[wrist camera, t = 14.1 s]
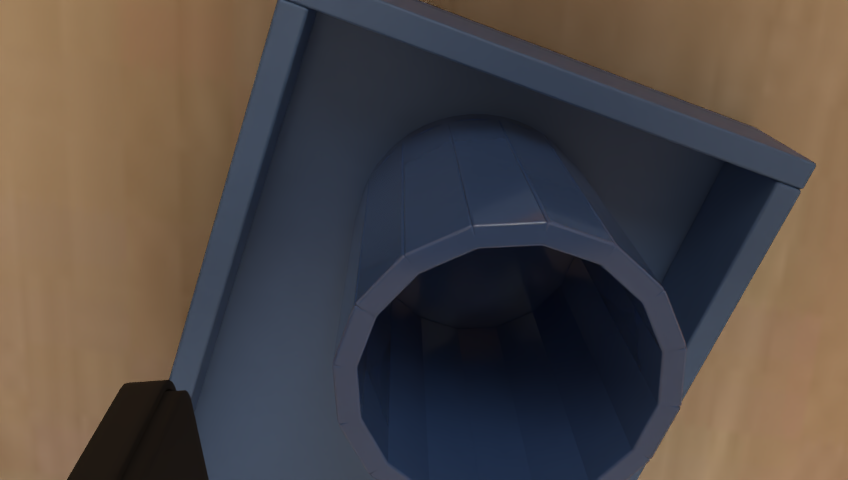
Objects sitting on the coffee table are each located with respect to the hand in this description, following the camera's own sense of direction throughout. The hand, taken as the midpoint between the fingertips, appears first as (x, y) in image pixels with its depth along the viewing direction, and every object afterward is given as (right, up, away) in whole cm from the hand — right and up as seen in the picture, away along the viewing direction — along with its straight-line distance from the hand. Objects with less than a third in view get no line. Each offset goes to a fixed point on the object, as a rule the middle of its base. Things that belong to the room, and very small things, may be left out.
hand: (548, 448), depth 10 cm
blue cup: (0, +3, +9) cm, 9 cm away
